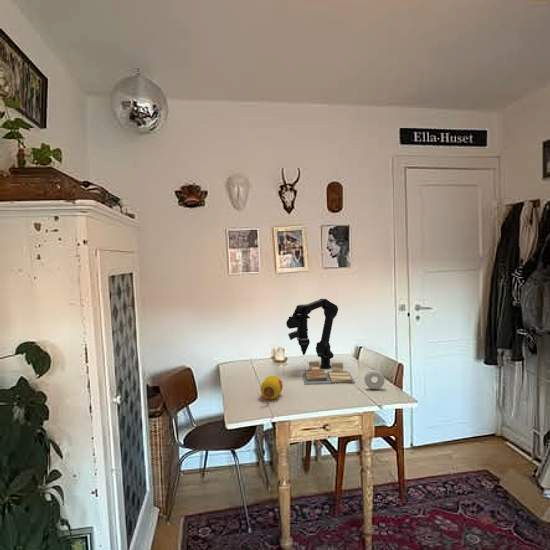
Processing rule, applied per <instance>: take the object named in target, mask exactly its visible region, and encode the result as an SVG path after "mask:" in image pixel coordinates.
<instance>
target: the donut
mask: <svg viewBox="0 0 550 550" xmlns="http://www.w3.org/2000/svg"><path fill="white" fill-rule="evenodd" d="M374 377H375V378H377V381H376V382H373V381H372V378H374ZM385 381H386V380H385V375H384V374H383V373H382V371H379V370H377V369H371V370H369V371H367V372H366V374H365V375H364V384H365V385H366V386H367V387H368V389H371V390H374V389H376V390H379V389H381V388H382V387H383V386H384V385H385Z"/></svg>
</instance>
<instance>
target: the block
mask: <svg viewBox="0 0 550 550" xmlns="http://www.w3.org/2000/svg"><path fill="white" fill-rule="evenodd" d="M320 369H321V368H320ZM320 369H319V367H312V376H320Z"/></svg>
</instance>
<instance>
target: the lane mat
mask: <svg viewBox="0 0 550 550" xmlns="http://www.w3.org/2000/svg"><path fill="white" fill-rule="evenodd" d="M347 372H348V373H349V375H350V377H351V379H352V382H331V380H330V377H329V375H328V372H325V374H326V377H327V380H316V381H307V379H306V375H305V372H304V373H302V377H303V383H304V384H303V385H306V386H307V385H313V384H314V385H337V383H348V384H356V382H355V380H354V378H353V376H352V375H351V373H350V372H349V371H347ZM335 383H336V384H335ZM314 385H313V386H314Z"/></svg>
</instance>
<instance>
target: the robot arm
mask: <svg viewBox="0 0 550 550" xmlns="http://www.w3.org/2000/svg"><path fill="white" fill-rule="evenodd" d="M320 308H321V309H323V315H324V317H325V318H324V323H323V328H322V332H321V339H320V341H319V342H316V347H315V353H316V355H317V357H318V358H320V364H319V365H320V369H332V364H331V360H332V359H333V358H334V353H333V351H331V344H330V337H331V332H332V329H333V323H334V319H335V318H336V317H337V315H338V313H339V307H338V305H337V304H335V303H333V302H331V301H330V300H329V299H327V298H320V299H318V300H315V301H312V302H310V303H307V304H304V303H303V304H297V305H296V307H295V308H294V311H293V314H292V315H291V316H289V317H288V319H287V320H286V322H285V324H286V327H287V328H288V329H296V330H294V331H292V332H290V333H287V335H288V338H289V340H290V341H291V340H293V339H296V340H297V341H298V342H297V343H298V345H299V346H300V350H301V352H302V356H305V355H306V353H307V350H308V348H309V345H310V342H311V341H310V339H309V332H308V331H309V329H308V319H311V317H310V316H309V314H311V313H312V312H313V311H314V310H317V309H320Z"/></svg>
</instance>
